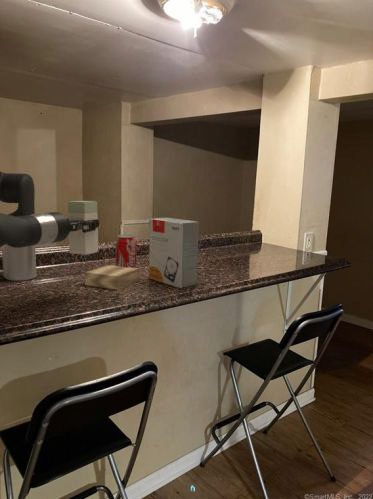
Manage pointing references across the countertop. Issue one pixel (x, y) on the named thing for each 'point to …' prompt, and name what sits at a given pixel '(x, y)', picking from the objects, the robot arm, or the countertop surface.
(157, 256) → the hard drive box
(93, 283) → the podium
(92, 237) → the carton
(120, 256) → the soda can
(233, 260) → the countertop surface
